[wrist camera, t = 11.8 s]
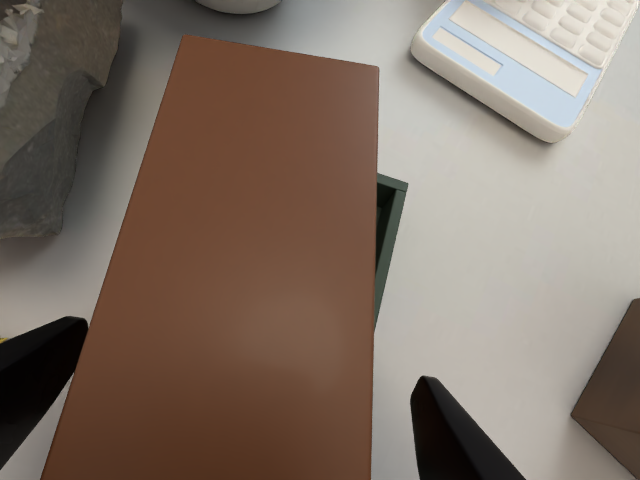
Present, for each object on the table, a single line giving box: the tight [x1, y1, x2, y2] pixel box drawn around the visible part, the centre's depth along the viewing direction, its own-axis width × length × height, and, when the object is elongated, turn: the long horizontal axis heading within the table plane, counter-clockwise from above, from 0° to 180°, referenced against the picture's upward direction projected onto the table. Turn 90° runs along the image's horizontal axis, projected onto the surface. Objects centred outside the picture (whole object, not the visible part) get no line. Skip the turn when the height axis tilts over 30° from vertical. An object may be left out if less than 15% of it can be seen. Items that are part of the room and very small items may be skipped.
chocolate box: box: [40, 34, 379, 480], centre depth 11 cm, size 11×6×10 cm, turn 175°
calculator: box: [411, 0, 640, 143], centre depth 25 cm, size 13×20×2 cm, turn 143°
